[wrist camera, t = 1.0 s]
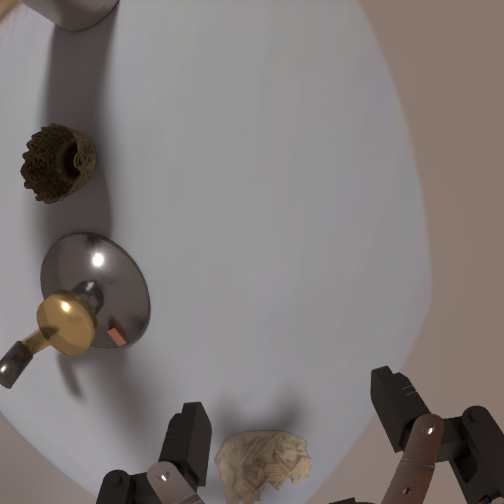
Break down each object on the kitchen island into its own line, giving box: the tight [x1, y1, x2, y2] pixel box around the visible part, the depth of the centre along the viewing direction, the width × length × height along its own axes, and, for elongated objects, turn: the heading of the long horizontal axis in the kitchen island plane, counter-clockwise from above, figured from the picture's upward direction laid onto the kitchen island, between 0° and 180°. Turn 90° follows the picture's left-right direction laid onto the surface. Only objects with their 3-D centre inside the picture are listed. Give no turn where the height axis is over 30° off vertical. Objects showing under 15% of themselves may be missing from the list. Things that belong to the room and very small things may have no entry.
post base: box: [40, 233, 149, 348], centre depth 31 cm, size 16×16×6 cm
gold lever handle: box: [0, 290, 98, 389], centre depth 24 cm, size 15×7×8 cm, turn 118°
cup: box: [20, 124, 96, 204], centre depth 25 cm, size 7×7×8 cm
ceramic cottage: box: [214, 431, 312, 504], centre depth 40 cm, size 16×16×15 cm
